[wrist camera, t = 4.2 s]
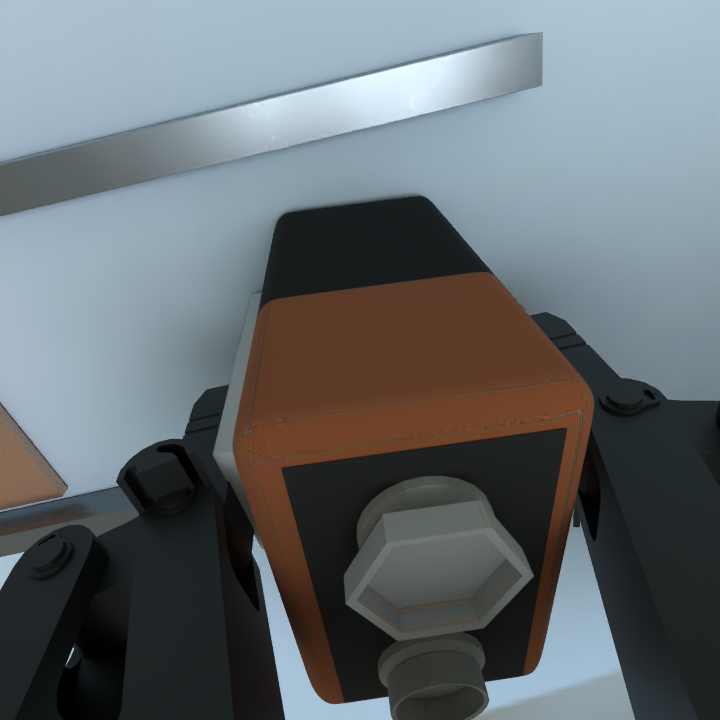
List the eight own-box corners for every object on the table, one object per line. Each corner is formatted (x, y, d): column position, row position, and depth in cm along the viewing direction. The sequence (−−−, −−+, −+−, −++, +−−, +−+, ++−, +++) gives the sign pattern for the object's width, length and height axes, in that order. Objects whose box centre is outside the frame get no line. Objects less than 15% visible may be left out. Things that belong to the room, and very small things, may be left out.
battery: (432, 189, 13) (674, 443, 4) (436, 391, 16) (570, 740, 8) (271, 210, 13) (197, 511, 4) (311, 408, 16) (314, 780, 8)
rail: (525, 418, 18) (539, 440, 17) (-181, 572, 18) (-209, 602, 18) (521, 34, 11) (542, 31, 10) (-573, 302, 12) (-653, 325, 11)
